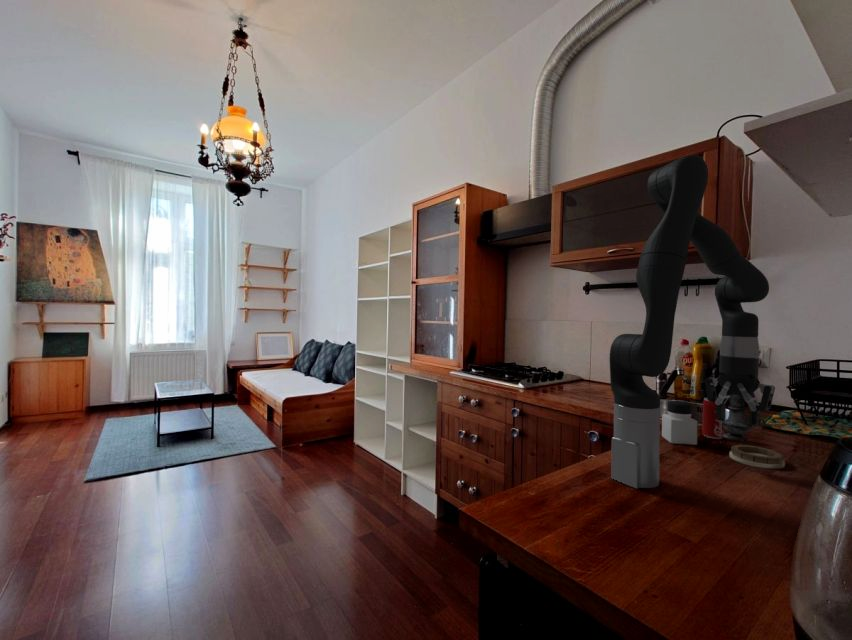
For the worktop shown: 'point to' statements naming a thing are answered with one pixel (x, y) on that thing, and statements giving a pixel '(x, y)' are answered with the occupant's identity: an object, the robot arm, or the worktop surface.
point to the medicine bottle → (679, 423)
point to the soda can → (711, 421)
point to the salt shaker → (736, 420)
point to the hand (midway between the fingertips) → (736, 423)
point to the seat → (757, 456)
